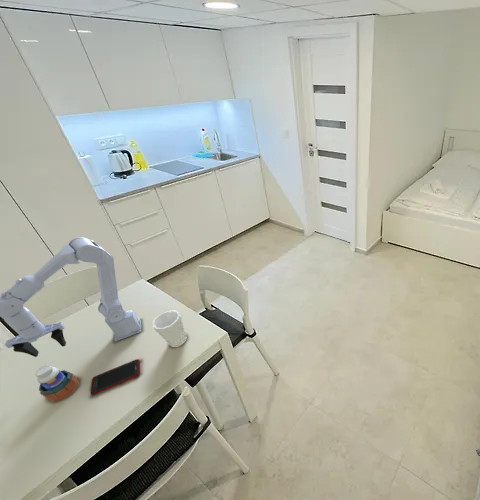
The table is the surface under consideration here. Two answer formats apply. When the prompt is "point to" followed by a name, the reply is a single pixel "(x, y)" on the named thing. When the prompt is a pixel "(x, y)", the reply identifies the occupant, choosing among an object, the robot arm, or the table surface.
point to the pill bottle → (50, 377)
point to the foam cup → (170, 328)
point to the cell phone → (115, 376)
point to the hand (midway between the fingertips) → (50, 349)
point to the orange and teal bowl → (61, 388)
